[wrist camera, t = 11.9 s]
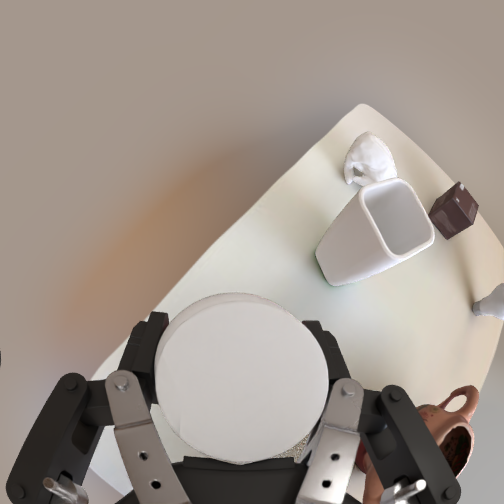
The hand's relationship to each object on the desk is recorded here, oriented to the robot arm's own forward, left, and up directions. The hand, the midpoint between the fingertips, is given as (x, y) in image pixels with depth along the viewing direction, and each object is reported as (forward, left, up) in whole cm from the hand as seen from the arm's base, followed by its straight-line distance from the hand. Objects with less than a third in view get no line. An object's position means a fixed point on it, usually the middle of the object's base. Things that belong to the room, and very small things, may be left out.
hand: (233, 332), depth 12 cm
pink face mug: (+17, -22, -20) cm, 34 cm away
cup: (+17, +5, -20) cm, 26 cm away
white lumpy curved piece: (+28, +15, -20) cm, 37 cm away
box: (+42, +6, -20) cm, 46 cm away
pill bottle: (-1, -2, -6) cm, 6 cm away
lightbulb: (+42, -12, -20) cm, 48 cm away
